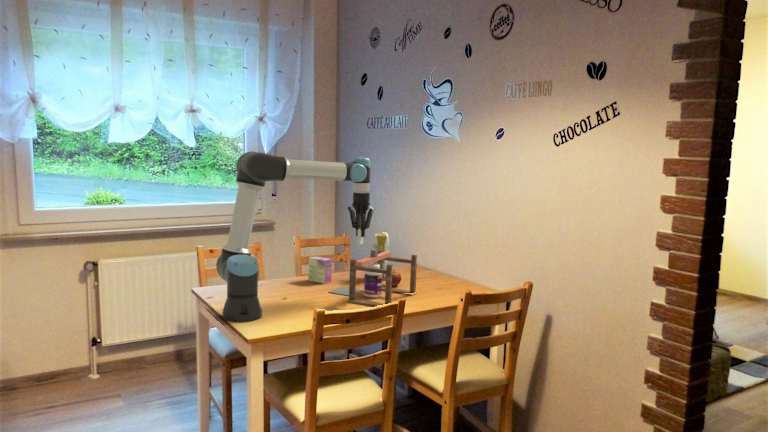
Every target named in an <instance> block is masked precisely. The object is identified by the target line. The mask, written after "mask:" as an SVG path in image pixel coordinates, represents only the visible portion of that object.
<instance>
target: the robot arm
mask: <svg viewBox="0 0 768 432" xmlns="http://www.w3.org/2000/svg"><path fill="white" fill-rule="evenodd" d="M235 169H236V178H235V182H236V185H237V186H238V188H237V194H236V197H235V203H234V209H233V213H232V219H231V223H230V229H229V234H228V238H227V243H226V244H225V245H224V246H222V248H221V254H220V255H219V256H218V257H217V260H216V264H215V267H216V272H217V274H218V276H219V277H220V278H221V279H222V280H223V281H225V282H226V291H227V292H226V300H225V303H224V306H223V309H222V318H223V319H224V320H225V321H229V322H235V323H237V322H251V321H252V322H253V321H256V320H258V319H260V318H262V316H263V308H262V306H261V302H260V300H259V296H258V291H259V263H258V261H259V260H258V259H257V258H256V257H255V256H253V255H251V254H252V251H251V250H250V249H249V246H250V243H251V242H250V241H251V235H252V231H253V226H254V221H255V217H256V211H257V207H258V201H259V197H260V191H261V190H264V189H265V185H266V182H275V181H276V182H278V181H280V182H285V180H286V179H289V180H290V179H291V180H292V179H293V180H295V179H296V180H315V181H316V180H319V181H341V182H342V181H344V182H352V191H353V193H352V205H350V206H348V207H347V210H348V212H349V216H350V222H351V227H352V228H353V229H355V236H356V237H357V243H356V244H357V245H363V244H364V238H365V236H366V230H368V229H369V228H370V225H371V221H372V217H373V213H374V211H375V210H376V209H375V208H374V207H372V206H371V203H370V199H371V198H370V195H371V193H370V191H371V185H370V184H371V169H372V168H371V160H370V158H368V157H354V158H353V161H351V162H350V161H321V160H320V161H319V160H317V161H316V160H303V159H301V160H300V159H289V158H287V157H285V156H279V155H274V154H273V155H272V154H269V153H265V152H261V151H260V152H258V151H247V152H244V153H242V154H241V155H240V156H239V157H238V159H237V161H236V164H235Z"/></svg>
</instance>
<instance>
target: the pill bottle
mask: <svg viewBox="0 0 768 432" xmlns="http://www.w3.org/2000/svg"><path fill="white" fill-rule="evenodd" d="M367 267H370V268H377V269H380V265H379V264H373V263H371V264H368V265H367ZM382 286H383V280H382V273H375V272H368V271H364V285H363V287H364V289H363V290H364V291H363V295H364V296H365V297H367V298H371V299H373V298H376V299H377V298H380V297H381V296H382V295H383V291H382Z"/></svg>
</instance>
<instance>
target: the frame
mask: <svg viewBox="0 0 768 432" xmlns="http://www.w3.org/2000/svg"><path fill="white" fill-rule="evenodd" d="M382 252H383V251H380V250H379V251H378V254H379V253H382ZM417 256H418V255H417V254H411V258H409V259H408V258H400V257H393V256H390V257H387V258H385V259H382V260H379V261H377V264H379V265H380V269H377V268H370V267H368V266H363V267H358V266H355V261H357V260H356V259H350V263H349V281H348V282H349V284H348V285H349V287H348V288H349V296H348V299H347V303H350V304H356V305H361V306H367V307H373V306H377V305H383V304H388V303H391V304H392V293H394V292H398V293H397V294H400V293H414V292H416V293H417V291H416V290H417V288H416V287H417V269H418V267H417V266H418V265H417V264H418V262H417V260H418V259H417ZM383 260H387V261H390V262H397V263H403V264H404V263H405V264H410V280H409V281H410V282H409V289H403V288H395V287H393V286H392V271H393V264H389V263H388V264H387V265H386V270H384V269H383ZM357 271H362V272H365V271H368V272H375V273H382V274H386V280H385V285H384V286H383V285H382V292H385V294H384V297H385V298H384V302H379V301H373V300H366V299H362V298H356V294H355V290H356V289H357V288H356V283H357V279H356V278H357Z"/></svg>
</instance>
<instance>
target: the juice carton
mask: <svg viewBox="0 0 768 432" xmlns="http://www.w3.org/2000/svg"><path fill="white" fill-rule="evenodd" d="M372 247H373V249H375V250H378V251H379V250H380V251H383V252H385V251H387V252H390V237H389V234H388V233H387V232H385V231H383V232H382V233H375V234H374V239H373V246H372ZM373 249H372V250H373ZM372 264H377V261H376V262H374V263H372ZM387 264H389V261H387V260H383V269H384V270H386V265H387ZM385 276H386V274H382V281H386V280H385Z"/></svg>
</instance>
